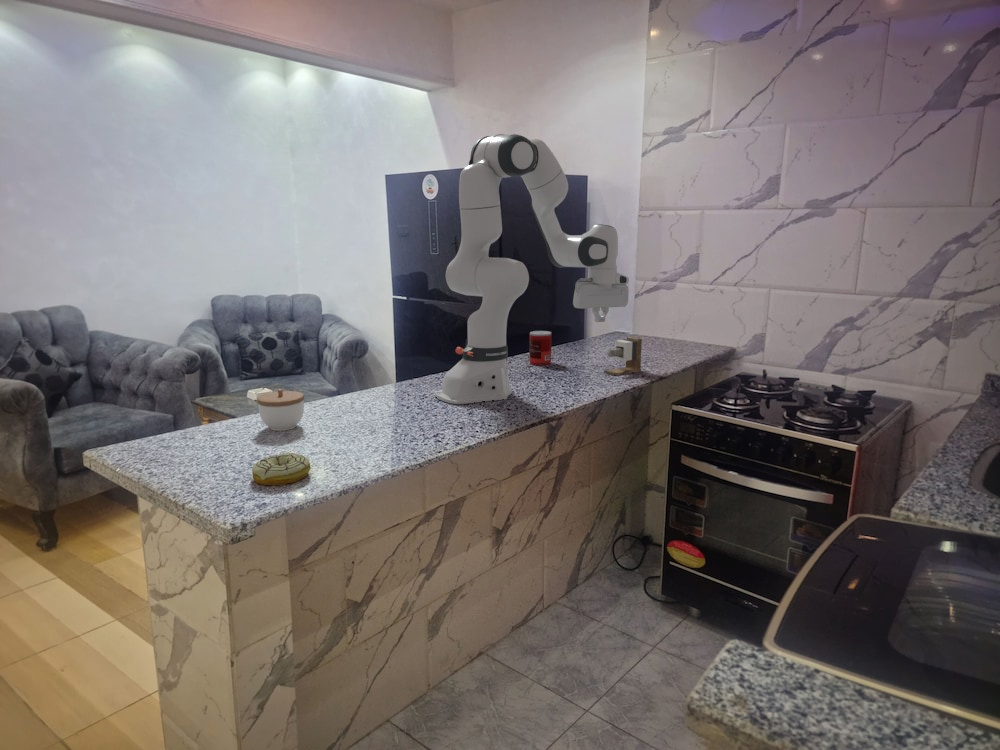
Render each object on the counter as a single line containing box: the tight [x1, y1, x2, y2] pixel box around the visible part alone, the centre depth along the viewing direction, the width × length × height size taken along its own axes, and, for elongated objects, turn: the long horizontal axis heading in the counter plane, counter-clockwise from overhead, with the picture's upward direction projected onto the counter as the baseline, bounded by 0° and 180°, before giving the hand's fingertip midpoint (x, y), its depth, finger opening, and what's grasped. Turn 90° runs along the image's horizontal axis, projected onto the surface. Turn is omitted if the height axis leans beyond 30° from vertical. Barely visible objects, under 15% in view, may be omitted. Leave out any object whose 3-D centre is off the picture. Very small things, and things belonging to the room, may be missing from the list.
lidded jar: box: [256, 388, 305, 432], centre depth 160 cm, size 11×11×9 cm
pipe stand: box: [603, 336, 643, 376], centre depth 218 cm, size 12×5×11 cm, turn 123°
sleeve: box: [613, 339, 632, 362], centre depth 218 cm, size 3×5×6 cm, turn 33°
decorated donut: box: [251, 452, 311, 487], centre depth 129 cm, size 10×11×4 cm
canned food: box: [529, 330, 553, 366], centre depth 233 cm, size 8×8×11 cm
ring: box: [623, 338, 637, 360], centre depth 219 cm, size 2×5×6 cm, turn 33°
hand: (599, 321), depth 210 cm, fingers closed
